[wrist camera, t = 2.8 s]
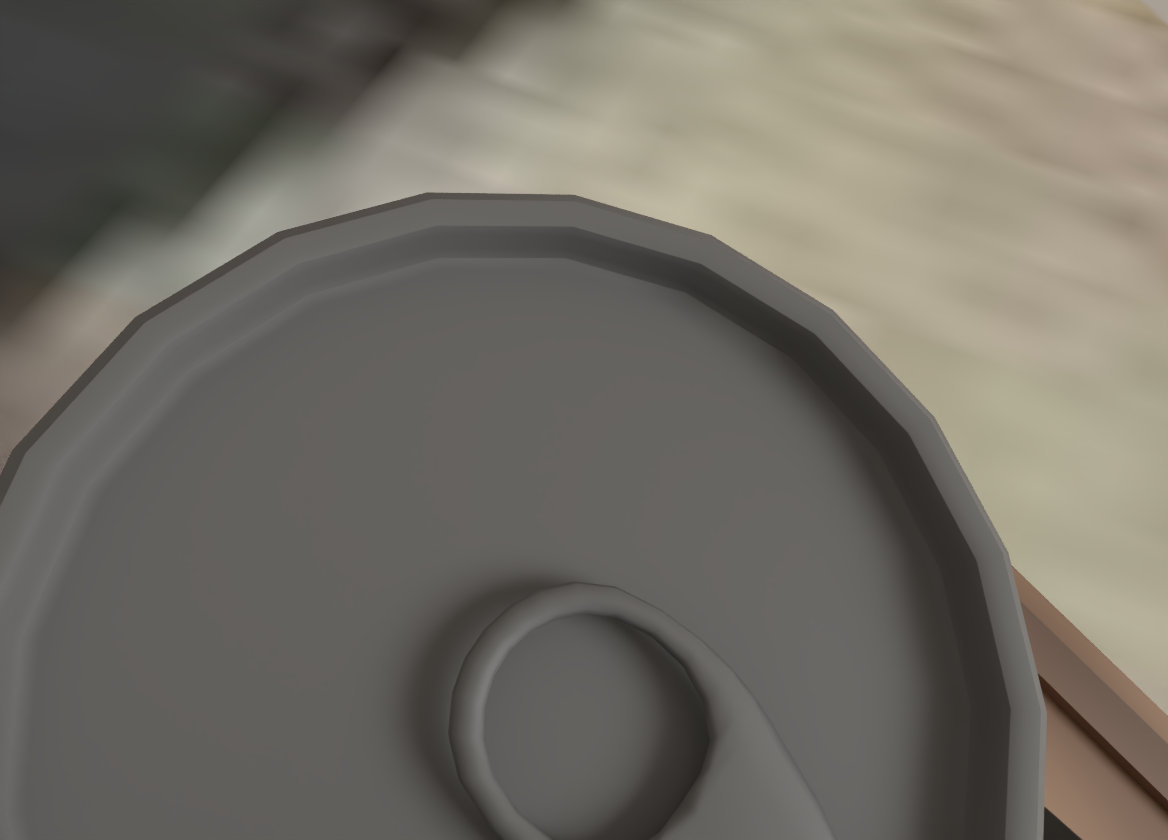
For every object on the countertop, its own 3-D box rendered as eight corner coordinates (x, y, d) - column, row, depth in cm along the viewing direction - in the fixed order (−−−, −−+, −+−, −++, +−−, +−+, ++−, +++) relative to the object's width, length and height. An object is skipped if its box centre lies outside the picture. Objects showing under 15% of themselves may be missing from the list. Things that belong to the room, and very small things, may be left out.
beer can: (466, 1022, 14) (655, 2168, 3) (166, 739, 15) (-660, 779, 3) (707, 687, 16) (1327, 602, 5) (441, 455, 17) (483, -73, 6)
